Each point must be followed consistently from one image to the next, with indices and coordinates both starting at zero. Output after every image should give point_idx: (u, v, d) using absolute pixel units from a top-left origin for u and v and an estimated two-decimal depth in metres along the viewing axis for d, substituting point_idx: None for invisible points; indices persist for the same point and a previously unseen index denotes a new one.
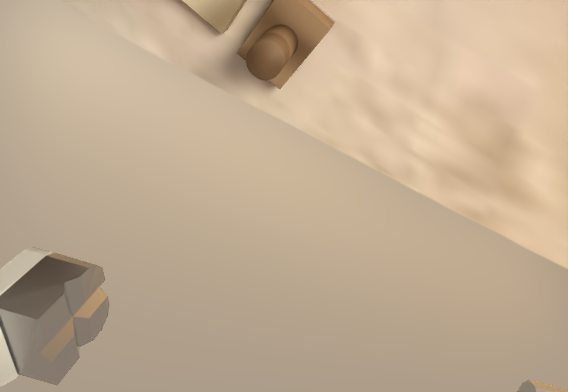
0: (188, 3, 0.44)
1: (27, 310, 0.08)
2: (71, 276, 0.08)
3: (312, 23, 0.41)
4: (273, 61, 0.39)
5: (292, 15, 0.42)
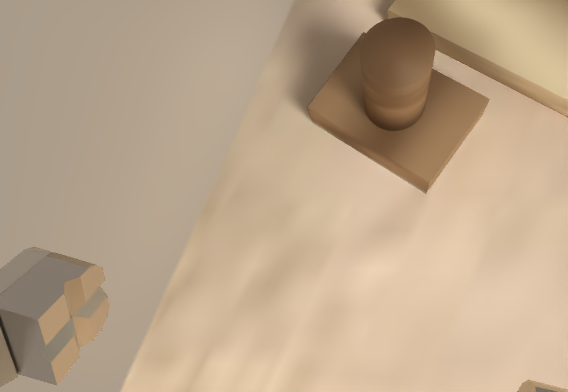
0: None
1: (27, 310, 0.08)
2: (71, 276, 0.08)
3: (434, 152, 0.24)
4: (400, 68, 0.20)
5: (443, 117, 0.24)
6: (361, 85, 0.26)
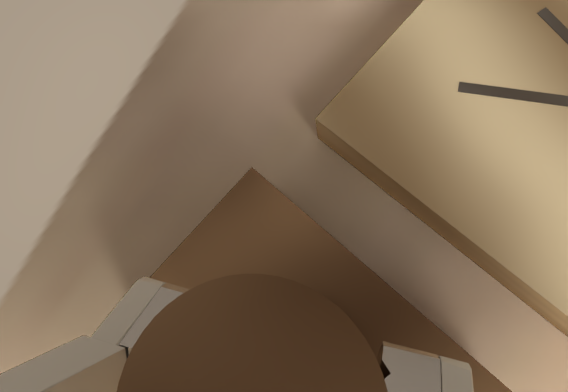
0: (415, 18, 0.13)
1: None
2: None
3: None
4: None
5: None
6: None
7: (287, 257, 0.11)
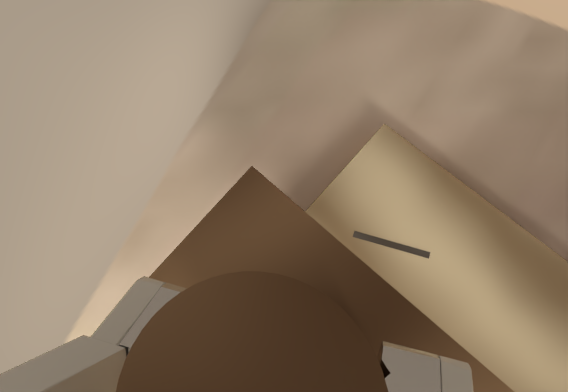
0: None
1: None
2: None
3: None
4: None
5: None
6: None
7: (287, 256, 0.11)
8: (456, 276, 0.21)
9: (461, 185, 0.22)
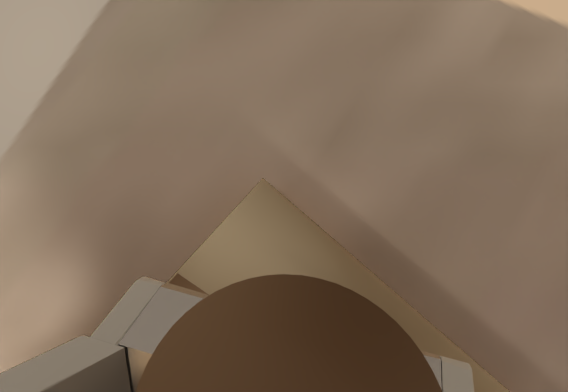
0: None
1: None
2: None
3: None
4: None
5: None
6: None
7: None
8: None
9: (382, 288, 0.13)
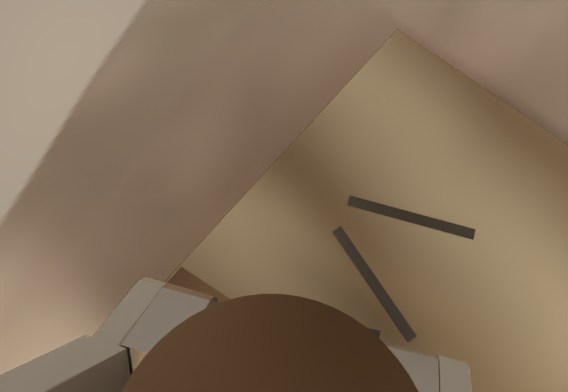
0: (220, 229, 0.14)
1: None
2: (194, 310, 0.08)
3: None
4: None
5: None
6: None
7: None
8: (520, 269, 0.12)
9: (523, 121, 0.13)
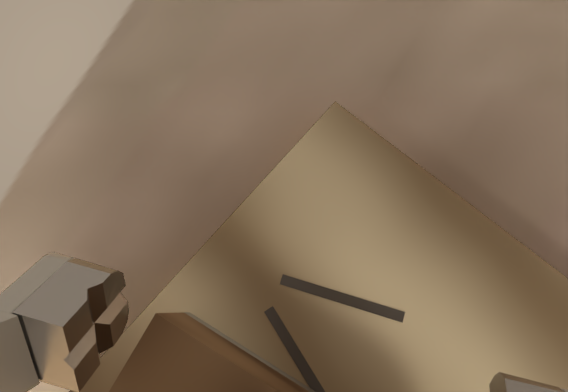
0: (154, 307, 0.14)
1: (51, 317, 0.08)
2: (93, 282, 0.08)
3: None
4: None
5: None
6: None
7: None
8: (448, 354, 0.12)
9: (456, 199, 0.13)
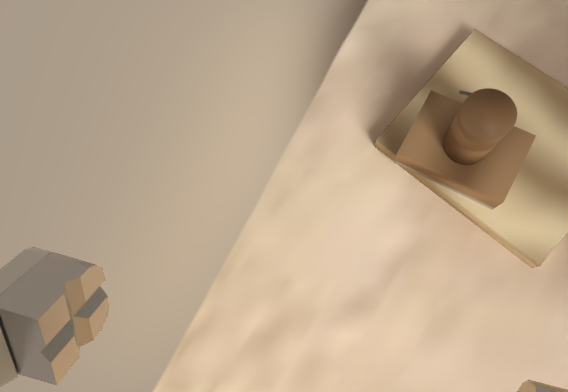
0: (411, 103, 0.37)
1: (27, 310, 0.08)
2: (71, 276, 0.08)
3: (503, 178, 0.32)
4: (495, 125, 0.27)
5: (504, 152, 0.32)
6: (437, 131, 0.33)
7: (452, 114, 0.34)
8: (522, 112, 0.36)
9: (523, 62, 0.36)
